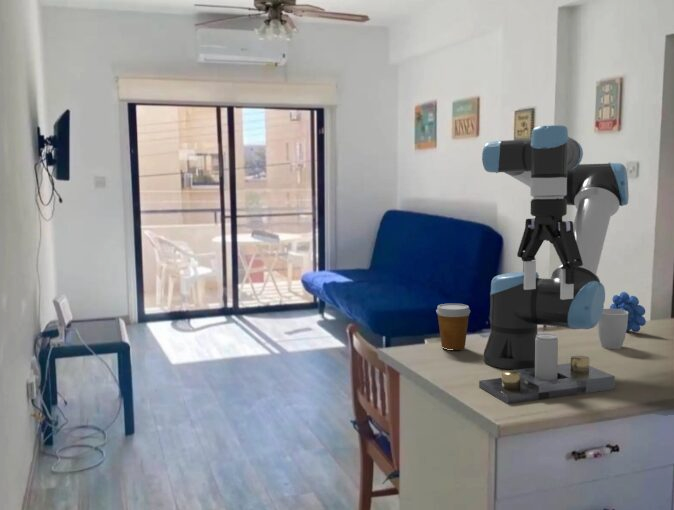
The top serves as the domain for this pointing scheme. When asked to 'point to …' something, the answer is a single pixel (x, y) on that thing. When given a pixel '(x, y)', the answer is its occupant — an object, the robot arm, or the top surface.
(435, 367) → the top surface
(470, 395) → the top surface
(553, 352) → the beverage can
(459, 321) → the disposable coffee cup
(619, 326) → the cup
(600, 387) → the marble inkwell stand
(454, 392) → the top surface
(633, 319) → the grapes
